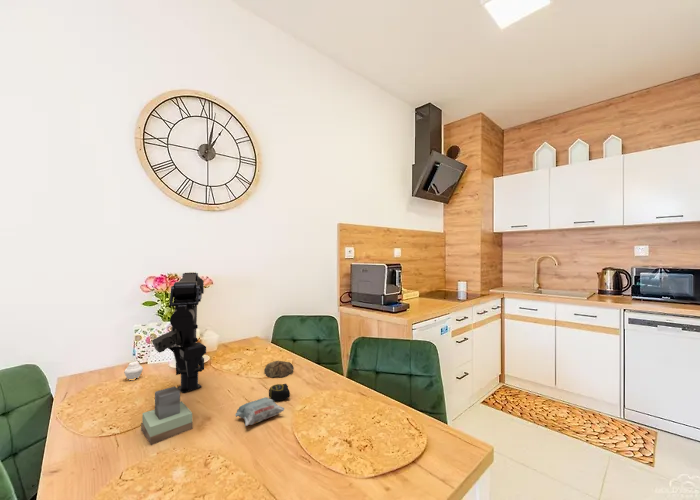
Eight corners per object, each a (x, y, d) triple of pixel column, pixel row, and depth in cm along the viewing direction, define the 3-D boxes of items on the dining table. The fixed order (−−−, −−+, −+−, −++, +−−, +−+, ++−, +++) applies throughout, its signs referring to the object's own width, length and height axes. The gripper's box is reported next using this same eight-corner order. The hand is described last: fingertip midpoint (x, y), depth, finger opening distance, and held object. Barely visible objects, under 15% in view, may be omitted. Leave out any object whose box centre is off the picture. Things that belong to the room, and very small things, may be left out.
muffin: (121, 380, 118) (121, 362, 118) (138, 374, 123) (138, 357, 123) (128, 383, 115) (128, 365, 115) (145, 377, 120) (146, 360, 120)
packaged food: (284, 417, 90) (284, 400, 90) (245, 432, 82) (245, 414, 82) (271, 407, 96) (271, 391, 96) (234, 420, 88) (234, 403, 89)
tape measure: (290, 401, 100) (290, 390, 100) (269, 404, 98) (269, 392, 98) (288, 392, 107) (288, 382, 107) (268, 395, 105) (268, 384, 105)
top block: (142, 422, 84) (142, 413, 84) (181, 409, 91) (181, 401, 91) (150, 437, 77) (150, 427, 77) (192, 422, 84) (192, 413, 84)
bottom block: (140, 432, 83) (141, 423, 83) (180, 418, 90) (180, 409, 91) (150, 447, 76) (151, 437, 76) (192, 430, 84) (192, 421, 84)
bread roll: (264, 368, 130) (264, 357, 130) (293, 366, 133) (293, 355, 133) (263, 380, 118) (263, 367, 118) (295, 377, 121) (295, 364, 121)
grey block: (154, 413, 84) (154, 391, 84) (174, 407, 87) (174, 386, 87) (159, 419, 80) (159, 397, 80) (179, 413, 84) (180, 391, 84)
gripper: (147, 321, 93) (146, 371, 93) (164, 332, 80) (163, 390, 80) (185, 316, 101) (185, 362, 101) (207, 325, 89) (206, 378, 88)
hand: (184, 372), depth 93 cm, fingers open, 9 cm apart
